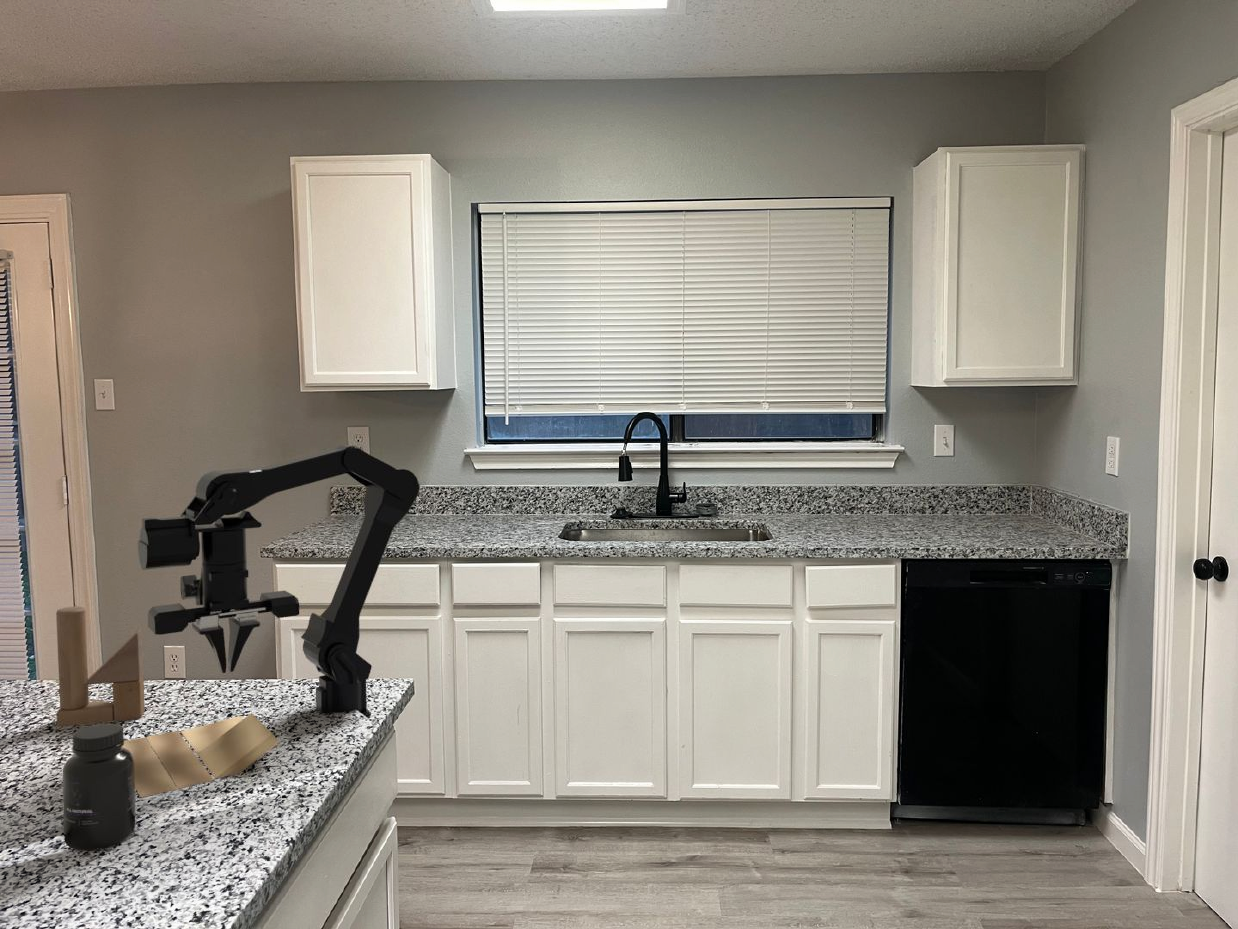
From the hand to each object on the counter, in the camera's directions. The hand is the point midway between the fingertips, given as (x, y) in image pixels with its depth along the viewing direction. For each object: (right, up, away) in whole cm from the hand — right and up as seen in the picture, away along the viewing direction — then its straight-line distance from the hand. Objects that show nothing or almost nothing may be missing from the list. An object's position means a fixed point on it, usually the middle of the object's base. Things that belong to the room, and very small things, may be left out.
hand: (227, 672), depth 125 cm
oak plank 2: (+6, -8, -9) cm, 13 cm away
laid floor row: (-4, -11, -10) cm, 15 cm away
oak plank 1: (-1, -10, -1) cm, 10 cm away
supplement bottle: (-2, -12, -27) cm, 30 cm away
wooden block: (-21, -10, +5) cm, 23 cm away
